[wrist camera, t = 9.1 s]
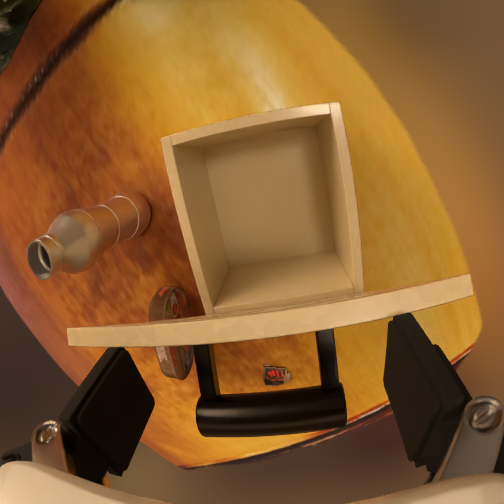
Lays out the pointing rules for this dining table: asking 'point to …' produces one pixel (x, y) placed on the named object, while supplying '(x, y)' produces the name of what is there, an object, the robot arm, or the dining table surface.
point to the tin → (166, 308)
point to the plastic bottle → (87, 234)
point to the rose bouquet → (13, 25)
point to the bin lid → (268, 326)
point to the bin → (268, 208)
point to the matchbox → (275, 375)
